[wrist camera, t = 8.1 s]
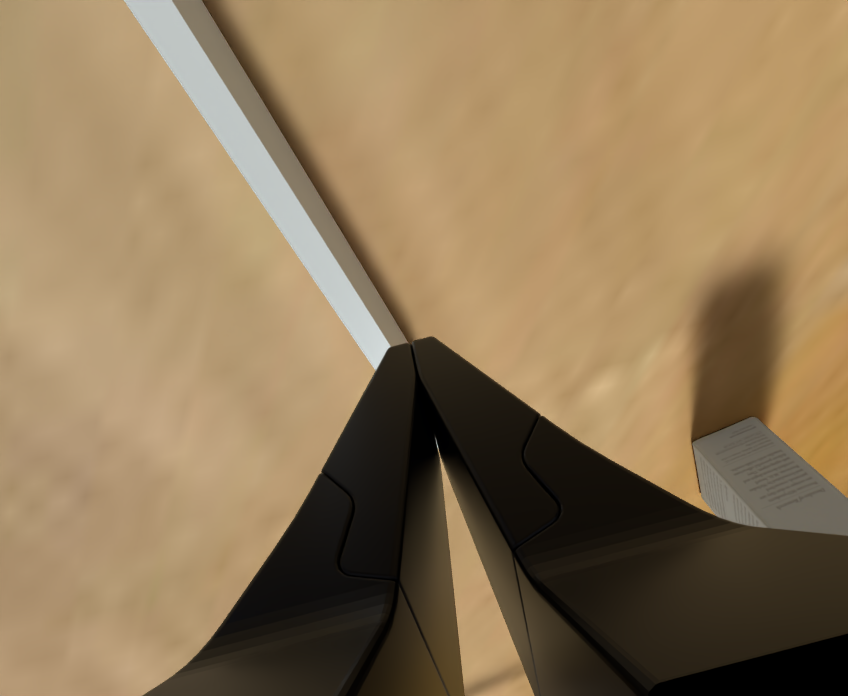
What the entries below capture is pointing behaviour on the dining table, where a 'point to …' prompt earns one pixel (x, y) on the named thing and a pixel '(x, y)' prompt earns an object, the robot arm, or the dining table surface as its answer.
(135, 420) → the dining table surface
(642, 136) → the dining table surface
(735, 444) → the skincare box
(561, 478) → the robot arm
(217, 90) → the light grey flat bar
